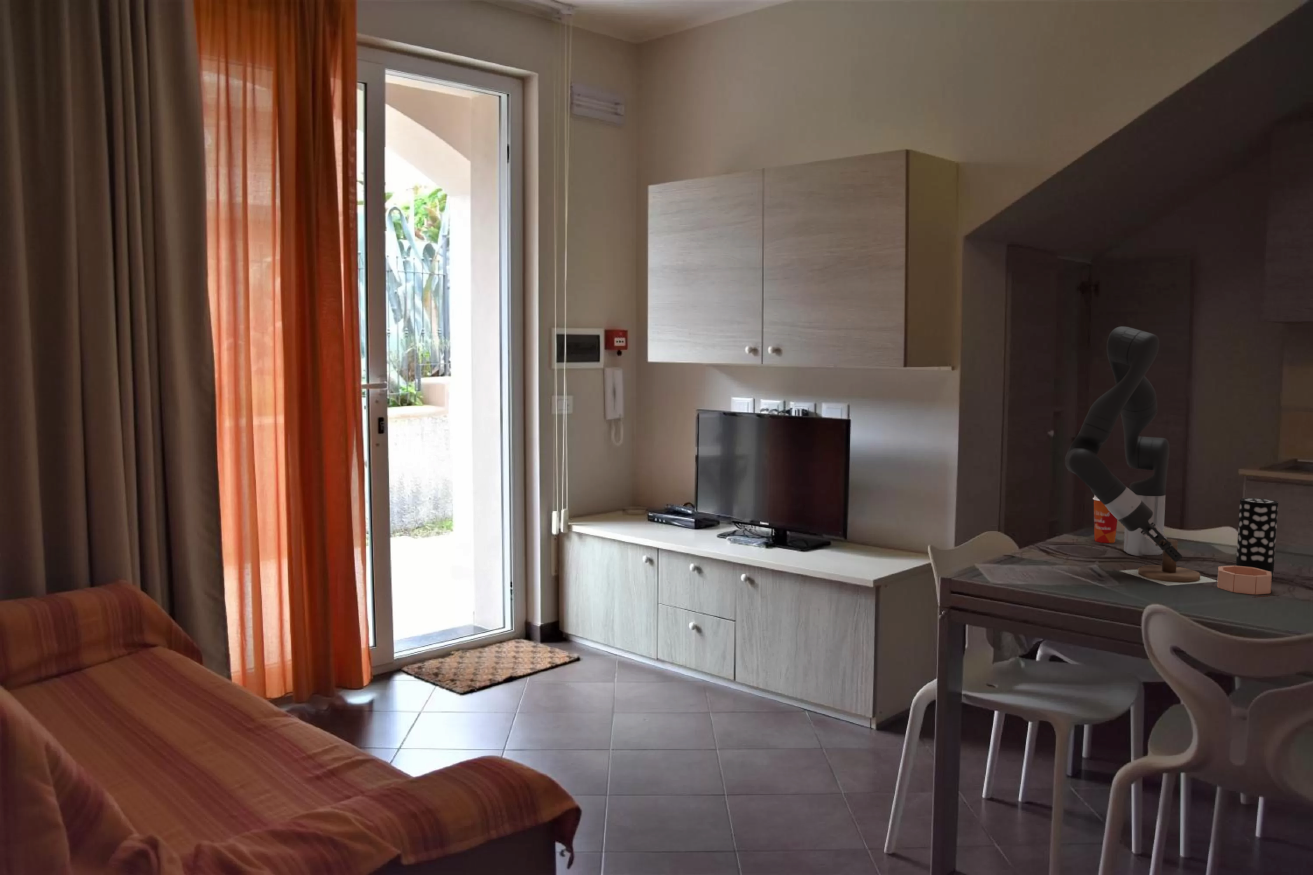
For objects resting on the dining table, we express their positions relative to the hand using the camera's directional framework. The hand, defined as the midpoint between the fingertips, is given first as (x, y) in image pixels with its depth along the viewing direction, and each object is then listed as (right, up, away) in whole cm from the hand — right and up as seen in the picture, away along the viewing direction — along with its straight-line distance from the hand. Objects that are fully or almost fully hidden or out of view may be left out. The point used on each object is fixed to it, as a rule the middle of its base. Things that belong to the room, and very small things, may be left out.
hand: (1175, 555), depth 253 cm
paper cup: (+4, -2, +48) cm, 48 cm away
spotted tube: (+21, -6, +2) cm, 22 cm away
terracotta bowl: (+11, -7, -11) cm, 17 cm away
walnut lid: (-1, -5, +1) cm, 5 cm away
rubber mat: (-1, -6, +1) cm, 6 cm away
